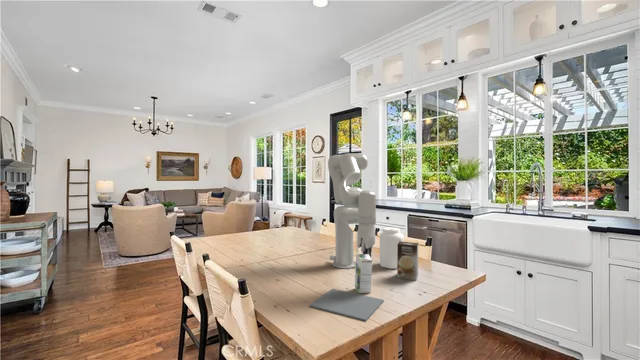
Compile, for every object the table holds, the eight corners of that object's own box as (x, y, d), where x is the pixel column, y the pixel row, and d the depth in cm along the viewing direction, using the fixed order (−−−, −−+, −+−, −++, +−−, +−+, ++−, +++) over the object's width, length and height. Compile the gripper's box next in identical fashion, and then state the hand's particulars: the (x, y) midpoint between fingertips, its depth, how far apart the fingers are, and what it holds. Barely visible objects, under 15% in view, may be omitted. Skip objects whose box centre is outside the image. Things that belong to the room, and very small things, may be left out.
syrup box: (354, 286, 126) (355, 253, 123) (368, 286, 126) (369, 253, 124) (357, 293, 120) (358, 259, 118) (371, 293, 120) (372, 259, 118)
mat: (309, 306, 108) (309, 304, 108) (332, 290, 124) (332, 288, 124) (366, 321, 97) (366, 319, 97) (383, 301, 112) (383, 299, 112)
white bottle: (406, 264, 159) (406, 227, 159) (399, 270, 149) (399, 231, 149) (384, 261, 166) (384, 225, 166) (376, 266, 156) (376, 228, 155)
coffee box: (396, 277, 138) (396, 243, 138) (399, 273, 144) (398, 241, 144) (417, 280, 135) (417, 245, 134) (418, 276, 140) (418, 242, 140)
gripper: (365, 217, 135) (365, 258, 135) (351, 222, 122) (351, 266, 122) (381, 219, 131) (381, 260, 131) (368, 223, 118) (369, 269, 118)
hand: (367, 263), depth 127 cm, fingers closed
